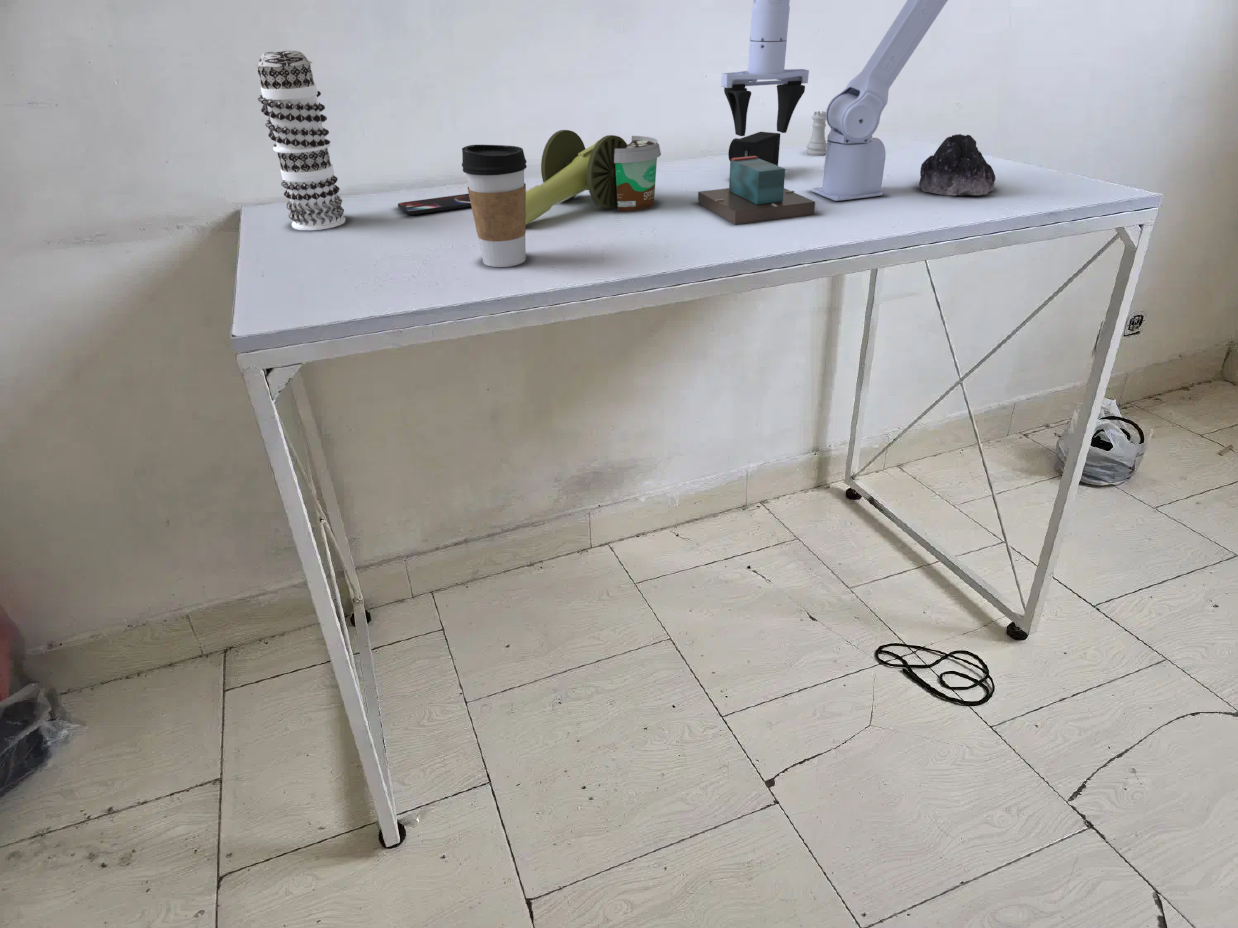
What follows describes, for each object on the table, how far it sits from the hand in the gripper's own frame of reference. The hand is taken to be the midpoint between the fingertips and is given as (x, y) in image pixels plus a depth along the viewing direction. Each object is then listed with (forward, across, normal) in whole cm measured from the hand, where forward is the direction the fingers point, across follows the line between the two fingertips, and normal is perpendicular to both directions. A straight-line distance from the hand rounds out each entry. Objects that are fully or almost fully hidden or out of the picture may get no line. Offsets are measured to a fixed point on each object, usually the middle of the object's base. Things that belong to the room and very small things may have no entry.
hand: (761, 133), depth 132 cm
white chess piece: (+10, -28, -28) cm, 41 cm away
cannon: (+11, +32, -6) cm, 35 cm away
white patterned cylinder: (+12, +72, -16) cm, 74 cm away
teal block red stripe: (+8, +4, +6) cm, 11 cm away
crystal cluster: (+10, -34, +9) cm, 36 cm away
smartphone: (+11, +50, -18) cm, 55 cm away
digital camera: (+11, -8, -16) cm, 21 cm away
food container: (+11, +19, -4) cm, 23 cm away
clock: (+10, +4, +6) cm, 13 cm away
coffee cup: (+11, +48, +16) cm, 51 cm away
